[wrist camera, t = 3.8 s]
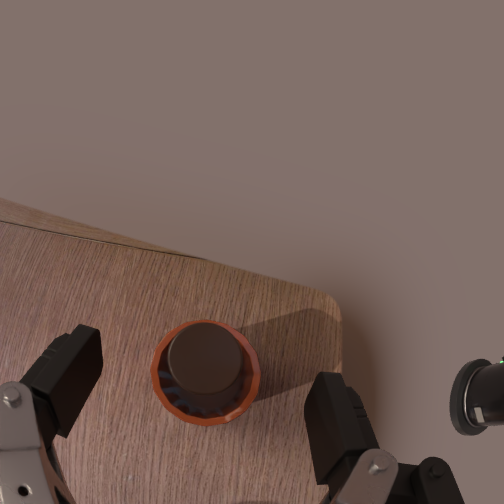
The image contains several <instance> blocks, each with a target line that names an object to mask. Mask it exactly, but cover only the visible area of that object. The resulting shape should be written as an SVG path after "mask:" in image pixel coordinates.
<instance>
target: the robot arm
mask: <svg viewBox="0 0 504 504" xmlns="http://www.w3.org/2000/svg"><path fill="white" fill-rule="evenodd" d="M502 359H503V361H502V362H500V363H496V364H493V365H489V366H482V367H479V368H477V369H475V370H474V371H473V372H472V373H471V374H470V376H469V378H468V380H467V382H466V384H465V388H464V392H463V398H462V409H463V415H464V418H465V420H466V422H467V423H468V424H469V425H470V426H472V427H482V426H497V425H504V357H503V358H502ZM102 368H103V356H102V347H101V336H100V331H99V330H98V329H95V328H92V327H89V326H85V325H82V324H79V325H78V326H77V327H76V328H75V329H74V331H73V332H72V333H71V334H67V333H65V334H63V335H61V336H59V337H57V338H56V339H54V340H53V342H52V343H51V344H50V345H49V346H48V347H47V349H46V350H45V351H44V352H43V353H42V356H40V357H39V358H38V359H37V360H36V362H35V363H34V364H33V365H32V367H31V368H30V369H29V370H28V371H27V373H26V374H25V375H24V376H23V378H22V379H21V380H20V381H19V382H15V381H11V382H6V383H4V384H2V385H1V386H0V502H1V504H76V502H75V500H74V498H73V496H72V494H71V493H70V491H69V489H68V486H67V484H66V481H65V478H64V475H63V472H62V469H61V466H60V463H59V460H58V457H57V453H56V450H55V446H54V443H53V439H54V437H55V436H56V434H57V435H60V436H62V437H64V438H66V439H67V437H68V435H69V433H70V431H71V429H72V427H73V425H74V423H75V421H76V419H77V417H78V415H79V413H80V412H81V410H82V408H83V406H84V404H85V402H86V400H87V399H88V397H89V395H90V393H91V391H92V390H93V388H94V386H95V384H96V382H97V381H98V379H99V377H100V375H101V372H102ZM304 417H305V422H306V427H307V433H308V438H309V444H310V449H311V454H312V460H313V466H314V471H315V477H316V482H317V485H324V484H328V487H329V491H328V492H327V493H326V495H325V496H324V498H323V499H322V501H321V502H320V503H319V504H465V503H464V501H463V498H462V496H461V493H460V491H459V488H458V486H457V483H456V481H455V478H454V476H453V473H452V471H451V469H450V467H449V465H448V464H447V463H446V462H445V461H444V460H442V459H440V458H437V457H428V458H426V459H424V460H423V461H422V462H421V463H420V464H419V465H410V464H402V463H397V461H396V459H395V458H394V457H393V455H392V454H390V453H389V452H387V451H385V450H382V449H380V448H379V445H378V442H377V440H376V437H375V434H374V432H373V429H372V427H371V424H370V421H369V419H368V418H367V414H366V411H365V409H364V406H363V404H362V401H361V399H360V396H359V395H358V394H357V393H356V392H355V391H354V390H353V389H352V387H346V386H345V383H344V380H343V378H342V375H341V374H340V373H332V372H319V373H318V375H317V377H316V379H315V381H314V383H313V385H312V388H311V390H310V392H309V394H308V396H307V398H306V401H305V405H304Z"/></svg>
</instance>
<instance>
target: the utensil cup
mask: <svg viewBox="0 0 504 504" xmlns="http://www.w3.org/2000/svg"><path fill="white" fill-rule="evenodd" d="M200 322H208V323H214V324H217V325H220V326H222V327H224V328H225V329H227V330H228V331H229V332H231V333H232V334H233V335H234V337H235V338H236V339H237V341H238V343H239V345H240V347H241V350H242V355H243V366H242V370H241V373H240V375H239V377H238V379H237V380H236V382H235V383H234V384H233V385H232V386H231V387H230V388H228V389H227V390H225V391H224V392H222V393H219V394H216V395H210V396H202V395H197V394H193V393H191V392H189V391H187V390H185V389H183V388H182V387H181V386H180V385H179V384H178V383H177V382H176V381H175V380H174V378H173V377H172V375H171V373H170V370H169V367H168V361H167V354H168V349H169V346H170V343H171V341H172V340H173V338H174V337H175V335H176V334H177V333H178V332H179V331H180V330H182V329H183V328H185V327H187V326H189V325H191V324H194V323H200ZM150 372H151V378H152V384H153V389H154V392H155V393H156V395H157V396H158V398H159V400H160V401H161V403H162V404H163V406H164V407H165V408H166V409H167V410H168V411H169V412H171V413H172V414H174V415H175V416H176V417H178V418H179V419H181V420H182V421H184V422H188V423H192V424H196V425H201V426H212V425H219V424H224V423H228V422H230V421H231V420H233V419H235V418H236V417H238V416H239V415H241V414H243V413H244V412H245V411H246V410H247V409H248V407H249V406H250V404H251V403H252V402H253V400H254V399H255V397H256V396H257V394H258V389H259V384H260V378H261V370H260V365H259V361H258V356H257V354H256V351H255V350H254V349H253V347H252V346H251V344H250V343H249V341H248V340H247V338H246V337H245V336H244V335H243V334H241V333H240V332H238V331H237V330H235V329H234V328H232V327H231V326H229V325H227V324H224V323H220V322H216V321H211V320H199V321H191V322H186V323H184V324H182V325H180V326H178V327H177V328H175V329H173V330H171V331H170V332H168V333H167V334H166V335H165V337H164V338H163V339H162V341H161V342H160V343H159V345H158V346H157V347H156V349H155V351H154V355H153V359H152V364H151V368H150Z"/></svg>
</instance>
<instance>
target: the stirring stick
mask: <svg viewBox="0 0 504 504" xmlns="http://www.w3.org/2000/svg"><path fill="white" fill-rule="evenodd" d="M167 361H168V367H169V370H170V373H171V375H172V377H173V378H174V380H175V381H176V382H177V383H178V384H179V385H180V386H181V387H182V388H183V389H185V390H187V391H189V392H191V393H193V394H197V395H202V396H210V395H216V394H219V393H222V392H224V391H225V390H227V389H228V388H230V387H231V386H232V385H233V384H234V383H235V382H236V380H237V379H238V377H239V375H240V373H241V370H242V366H243V355H242V350H241V347H240V345H239V343H238V341H237V339H236V338H235V337H234V335H233V334H232V333H231V332H229V331H228V330H227V329H225V328H224V327H222V326H220V325H217V324H214V323H208V322H200V323H194V324H191V325H189V326H187V327H185V328H183V329H182V330H180V331H179V332H178V333H177V334H176V335H175V337H174V338H173V340H172V341H171V343H170V346H169V349H168V354H167Z"/></svg>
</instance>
